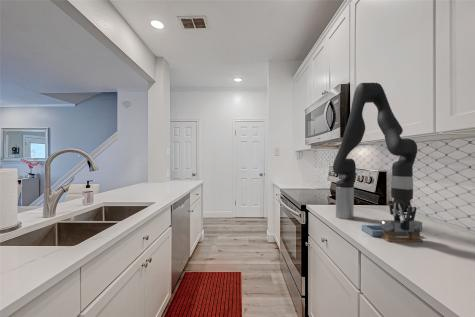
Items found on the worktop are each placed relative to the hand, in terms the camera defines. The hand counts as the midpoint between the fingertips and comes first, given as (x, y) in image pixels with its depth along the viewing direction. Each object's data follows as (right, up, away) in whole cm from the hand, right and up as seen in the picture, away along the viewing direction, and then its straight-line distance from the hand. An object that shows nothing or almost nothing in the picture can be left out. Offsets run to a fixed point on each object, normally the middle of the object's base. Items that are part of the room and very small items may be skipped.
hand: (401, 228), depth 100 cm
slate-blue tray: (0, -5, +8) cm, 9 cm away
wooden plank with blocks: (0, -5, 0) cm, 5 cm away
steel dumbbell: (0, -1, 0) cm, 1 cm away
